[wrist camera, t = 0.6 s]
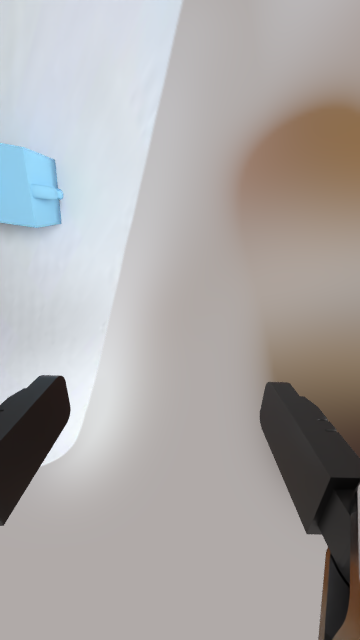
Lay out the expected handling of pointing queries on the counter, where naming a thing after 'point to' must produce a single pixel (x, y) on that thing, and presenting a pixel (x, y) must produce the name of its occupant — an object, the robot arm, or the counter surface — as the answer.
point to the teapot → (28, 188)
